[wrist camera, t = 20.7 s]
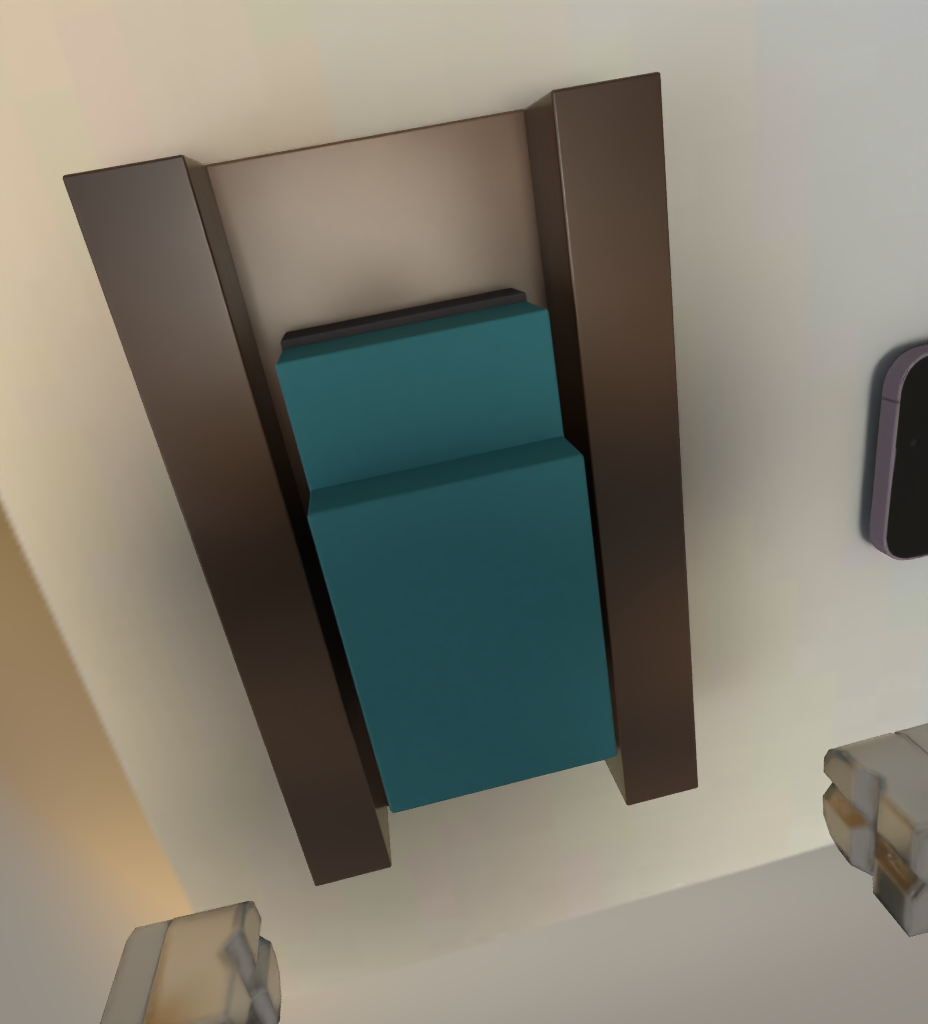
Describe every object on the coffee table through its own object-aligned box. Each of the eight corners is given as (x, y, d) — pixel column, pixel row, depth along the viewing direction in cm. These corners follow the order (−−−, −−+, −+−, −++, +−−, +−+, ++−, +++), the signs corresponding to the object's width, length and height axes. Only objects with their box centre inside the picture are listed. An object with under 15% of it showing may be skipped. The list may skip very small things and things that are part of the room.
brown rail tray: (649, 710, 26) (698, 788, 23) (319, 792, 25) (315, 887, 22) (598, 101, 19) (661, 70, 15) (120, 187, 18) (60, 175, 14)
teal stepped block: (565, 664, 23) (620, 772, 19) (385, 708, 23) (395, 830, 18) (513, 287, 18) (568, 305, 14) (284, 332, 18) (264, 367, 13)
